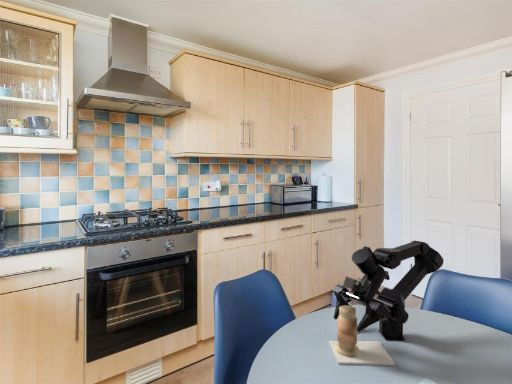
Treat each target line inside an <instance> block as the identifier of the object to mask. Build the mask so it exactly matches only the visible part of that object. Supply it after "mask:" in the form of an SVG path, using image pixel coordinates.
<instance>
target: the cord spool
mask: <svg viewBox="0 0 512 384" xmlns="http://www.w3.org/2000/svg"><path fill="white" fill-rule="evenodd" d="M356 311H357V309H356V307H353V305H352V306H346V305H344V306H340V307H339V316H338V318H337V341H338V342H339V343H337V344H336V346H335V350H336V352H337V353H338V354H340V355H342V356H345V357H355V356H357V355H358V354H359V348H358V347H357V346H356V344H357V341H358V333H357V324H358V318H356V317H357V312H356Z"/></svg>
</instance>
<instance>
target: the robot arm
mask: <svg viewBox="0 0 512 384" xmlns="http://www.w3.org/2000/svg"><path fill="white" fill-rule="evenodd" d="M410 258H414V259H413V260H414V265H413V266H412V267H410V269H409V270H408V271H407V272H406V273H405V274H404V276H403V277H402V278H401V279H400V280H399V281H398V282H397V283H396V284H395V286H393V287H392V288H391V289H390V288H388V287H384V288H382V290H381V291H379V289H380V287H381V286H382V284H383V282H384V281H385V280H387V281H391V280H390V275H389V271H388V270H385V268H386V269H390V270H395V269H396V268H398V267H399V266H400V265H402V261H406V260H407V259H410ZM351 261H352V263H354V265H355V266H356V267H357V269H359V271H360V273H362V274H364V275H363V276H362V277H358V278H357V279H354V278H352V277H350V276H349V277H348V276H345V277H344V281H343V285H340V284H337V285H334V287H333V289H332V292H333V294H334V296H335V298H336V302H335V309H334V314H333V319H334V320H338V316H339V307H340V306H344V305H346V306H349V304H348V303H349V302H351V300H352V301H353V302H354V303H357V304H359V305H362V307H365V310H364V311H365V313H364V314H363V316H362V318H361V320H360V321H359V323H358V327H357V331H358V333H359V332H361V331H363V330H365V329H367V328H368V327H370V326H371V325H374V324H376V323H379V324H378V325H379V326H378V328H379V329H378V332H379V334H380V335H381V337H383V338H384V340H386V341H405V340H406V338H405V336H404V324H406V322H408V319H409V316H410V315H409V313H408V311H406V300H407V298H408V297H409V296H410V295H411V294H412V293H413V291H414V290H415V289H416V288H417V287H418V285H420V283H421V282H422V281H423V279H425V277H426V276H427V275H429V274H433V273H436V272H438V271H439V269H441V268H442V267H443V265H444V258H443V256H442V255H441V254H440V252H438V251H437V250H436V249H435V248H433V247H431V246H430V245H429V244H428V243H427V242H425V241H420V240H419V241H418V240H412V241H410V242H408V243H405V244H401V245H399V246H395V247H391V248H389V247H378V248H376V249H375V250H373V251H372V249H371V247H369V246H365V245H364V246H363V247H362V248H360V249H357V250H356V251H355V252H353V253H352V256H351ZM347 288H348V289H347ZM375 296H376V298H375Z"/></svg>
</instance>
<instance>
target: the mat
mask: <svg viewBox="0 0 512 384" xmlns="http://www.w3.org/2000/svg"><path fill="white" fill-rule="evenodd" d="M337 343H339V342H338V340H329V345H330V347H331V350H332V353H333V354H334V357H335V360H336V362H337V364H338V365H359V366H360V365H362V366H363V365H365V366H396V363H395V361H394V360H393V357H391V355H389V353H388V351H387V349H385V347H384V346H383V345H382V343H381V342H380V341H379V340H378V341H376V340H375V341H374V340H369V341H368V340H357V344H356V346H357V347H358V348H359V354H358V355H357V356H355V357H345V356H342V355H340V354H338V353H337V352H336V350H335V346H336V344H337Z"/></svg>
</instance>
